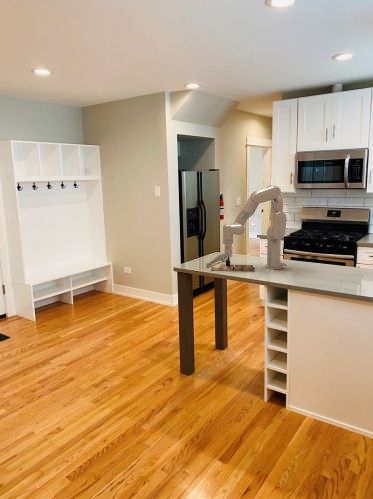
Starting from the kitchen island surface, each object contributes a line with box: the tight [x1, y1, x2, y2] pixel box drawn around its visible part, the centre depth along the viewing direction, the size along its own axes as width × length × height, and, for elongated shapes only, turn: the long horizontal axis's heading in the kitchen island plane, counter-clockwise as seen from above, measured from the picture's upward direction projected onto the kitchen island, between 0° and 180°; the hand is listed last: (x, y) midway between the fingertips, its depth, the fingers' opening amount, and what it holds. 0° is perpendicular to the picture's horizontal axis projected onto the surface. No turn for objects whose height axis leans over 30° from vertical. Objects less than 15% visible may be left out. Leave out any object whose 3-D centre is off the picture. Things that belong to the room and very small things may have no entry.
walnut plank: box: [233, 264, 254, 272], centre depth 275 cm, size 13×11×2 cm
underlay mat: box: [210, 266, 256, 273], centre depth 277 cm, size 31×13×1 cm, turn 78°
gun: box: [205, 252, 226, 269], centre depth 295 cm, size 2×30×8 cm, turn 143°
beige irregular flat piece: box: [211, 263, 235, 272], centre depth 278 cm, size 15×11×2 cm
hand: (227, 266), depth 277 cm, fingers closed
